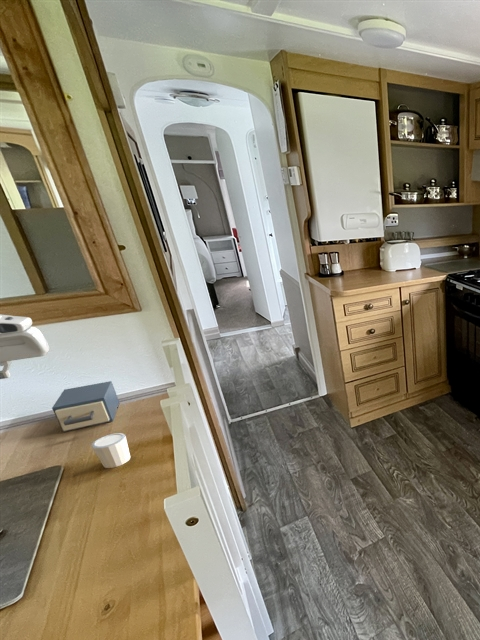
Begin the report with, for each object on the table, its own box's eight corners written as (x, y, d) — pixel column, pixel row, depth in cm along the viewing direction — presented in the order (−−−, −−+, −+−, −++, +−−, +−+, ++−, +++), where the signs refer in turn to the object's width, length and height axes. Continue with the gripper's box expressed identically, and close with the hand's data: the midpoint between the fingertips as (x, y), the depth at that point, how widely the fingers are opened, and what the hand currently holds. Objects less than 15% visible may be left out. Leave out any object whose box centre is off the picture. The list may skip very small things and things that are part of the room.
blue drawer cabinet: (113, 421, 121) (103, 397, 117) (63, 432, 115) (51, 407, 111) (119, 402, 131) (111, 381, 128) (74, 412, 125) (64, 389, 122)
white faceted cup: (133, 450, 107) (125, 429, 105) (133, 462, 102) (125, 441, 100) (100, 460, 103) (91, 438, 101) (99, 473, 98) (89, 451, 96)
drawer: (106, 428, 116) (98, 409, 113) (59, 438, 110) (50, 419, 108) (115, 404, 129) (108, 386, 126) (73, 412, 123) (65, 394, 121)
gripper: (-103, 338, 82) (-70, 394, 87) (31, 323, 93) (53, 374, 98) (-86, 330, 87) (-56, 383, 92) (39, 317, 98) (60, 365, 103)
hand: (1, 378), depth 95 cm, fingers closed
